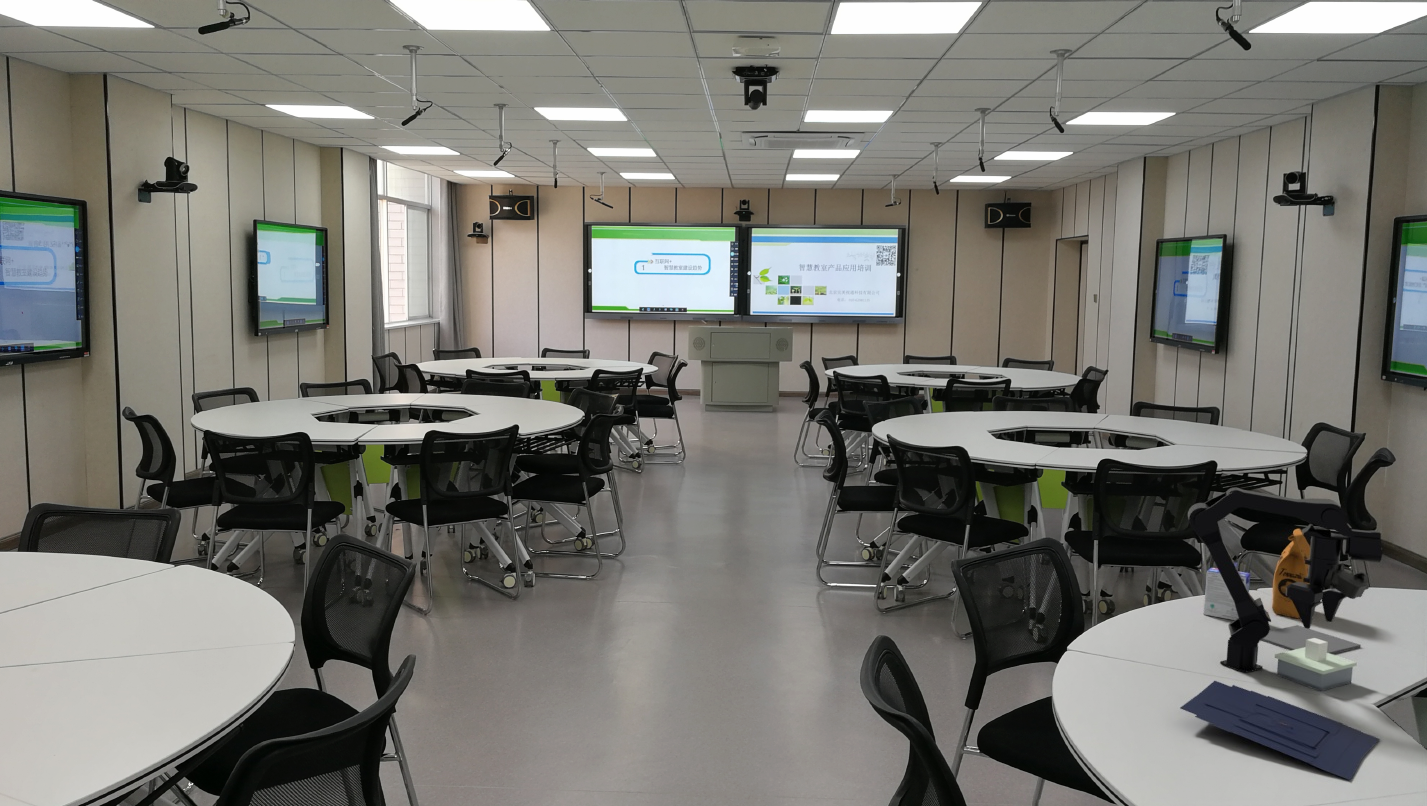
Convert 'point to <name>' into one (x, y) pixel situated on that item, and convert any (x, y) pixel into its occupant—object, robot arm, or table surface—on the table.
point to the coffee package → (1290, 573)
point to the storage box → (1314, 676)
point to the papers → (1283, 727)
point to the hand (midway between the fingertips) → (1318, 624)
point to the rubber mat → (1298, 636)
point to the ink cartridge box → (1221, 595)
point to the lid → (1316, 658)
